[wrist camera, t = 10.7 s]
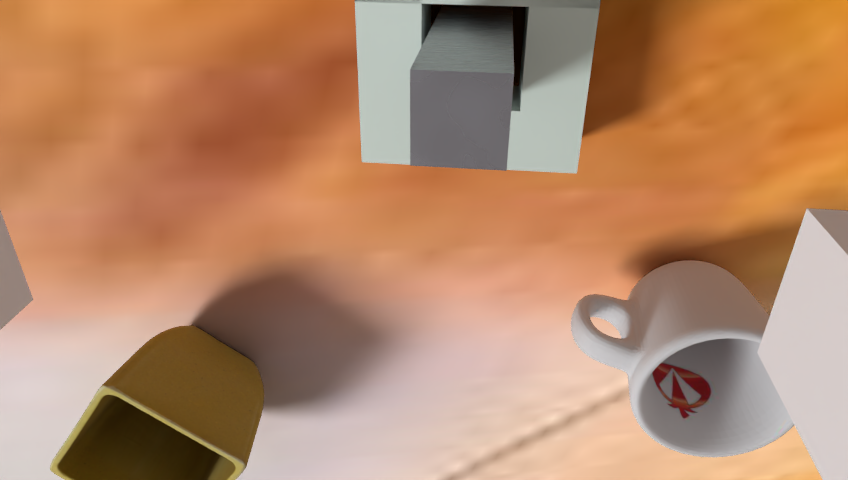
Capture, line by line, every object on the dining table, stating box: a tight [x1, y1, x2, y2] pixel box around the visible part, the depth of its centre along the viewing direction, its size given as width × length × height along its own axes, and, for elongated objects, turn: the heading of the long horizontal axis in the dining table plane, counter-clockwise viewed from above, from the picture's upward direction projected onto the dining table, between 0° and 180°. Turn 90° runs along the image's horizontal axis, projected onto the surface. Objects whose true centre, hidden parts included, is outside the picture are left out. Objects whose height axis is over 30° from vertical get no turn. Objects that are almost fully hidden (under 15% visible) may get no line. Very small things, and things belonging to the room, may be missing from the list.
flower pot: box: [50, 325, 264, 480], centre depth 40 cm, size 9×9×9 cm
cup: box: [571, 260, 794, 457], centre depth 33 cm, size 11×8×8 cm
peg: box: [410, 4, 514, 170], centre depth 26 cm, size 3×3×12 cm
